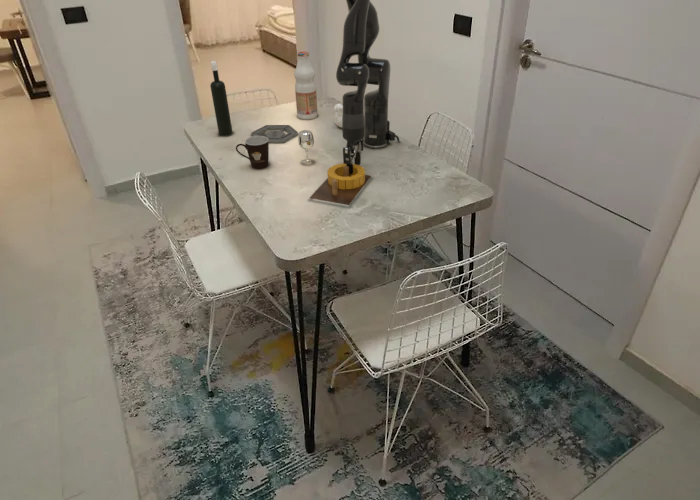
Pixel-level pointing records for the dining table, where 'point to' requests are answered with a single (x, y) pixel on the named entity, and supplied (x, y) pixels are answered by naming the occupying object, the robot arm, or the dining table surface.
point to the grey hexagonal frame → (276, 133)
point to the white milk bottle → (305, 87)
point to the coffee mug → (257, 151)
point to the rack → (337, 191)
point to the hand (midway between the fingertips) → (353, 168)
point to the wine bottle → (220, 103)
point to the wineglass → (306, 141)
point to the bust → (338, 114)
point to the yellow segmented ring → (346, 182)
